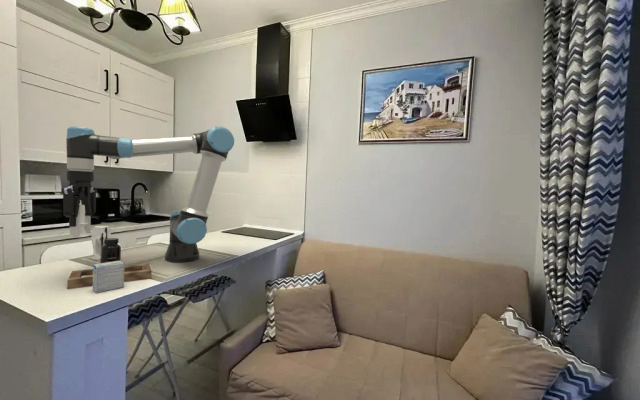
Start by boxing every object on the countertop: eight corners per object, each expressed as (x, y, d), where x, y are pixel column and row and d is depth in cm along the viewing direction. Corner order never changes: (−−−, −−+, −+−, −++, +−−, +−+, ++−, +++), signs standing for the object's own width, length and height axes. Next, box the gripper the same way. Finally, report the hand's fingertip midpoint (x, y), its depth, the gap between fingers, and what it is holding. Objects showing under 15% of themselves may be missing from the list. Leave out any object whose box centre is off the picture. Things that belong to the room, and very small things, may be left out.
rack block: (148, 270, 116) (149, 262, 116) (151, 278, 107) (151, 269, 107) (72, 279, 102) (72, 270, 102) (67, 289, 93) (67, 279, 93)
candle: (81, 234, 106) (81, 202, 105) (93, 235, 105) (93, 203, 104) (66, 236, 100) (66, 203, 100) (78, 238, 99) (78, 204, 99)
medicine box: (120, 284, 100) (120, 260, 99) (124, 287, 97) (124, 262, 96) (92, 289, 93) (92, 264, 93) (95, 293, 91) (96, 267, 90)
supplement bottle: (109, 270, 113) (110, 241, 113) (95, 268, 115) (96, 239, 114) (124, 265, 120) (125, 238, 120) (111, 264, 121) (112, 236, 121)
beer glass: (113, 258, 129) (113, 226, 129) (94, 261, 123) (95, 228, 123) (106, 256, 133) (107, 224, 132) (88, 258, 127) (88, 226, 126)
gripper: (88, 171, 110) (88, 229, 111) (47, 168, 92) (47, 238, 94) (108, 172, 110) (107, 230, 112) (71, 169, 93) (71, 239, 94)
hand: (80, 234), depth 103 cm, fingers closed on candle, 4 cm apart
